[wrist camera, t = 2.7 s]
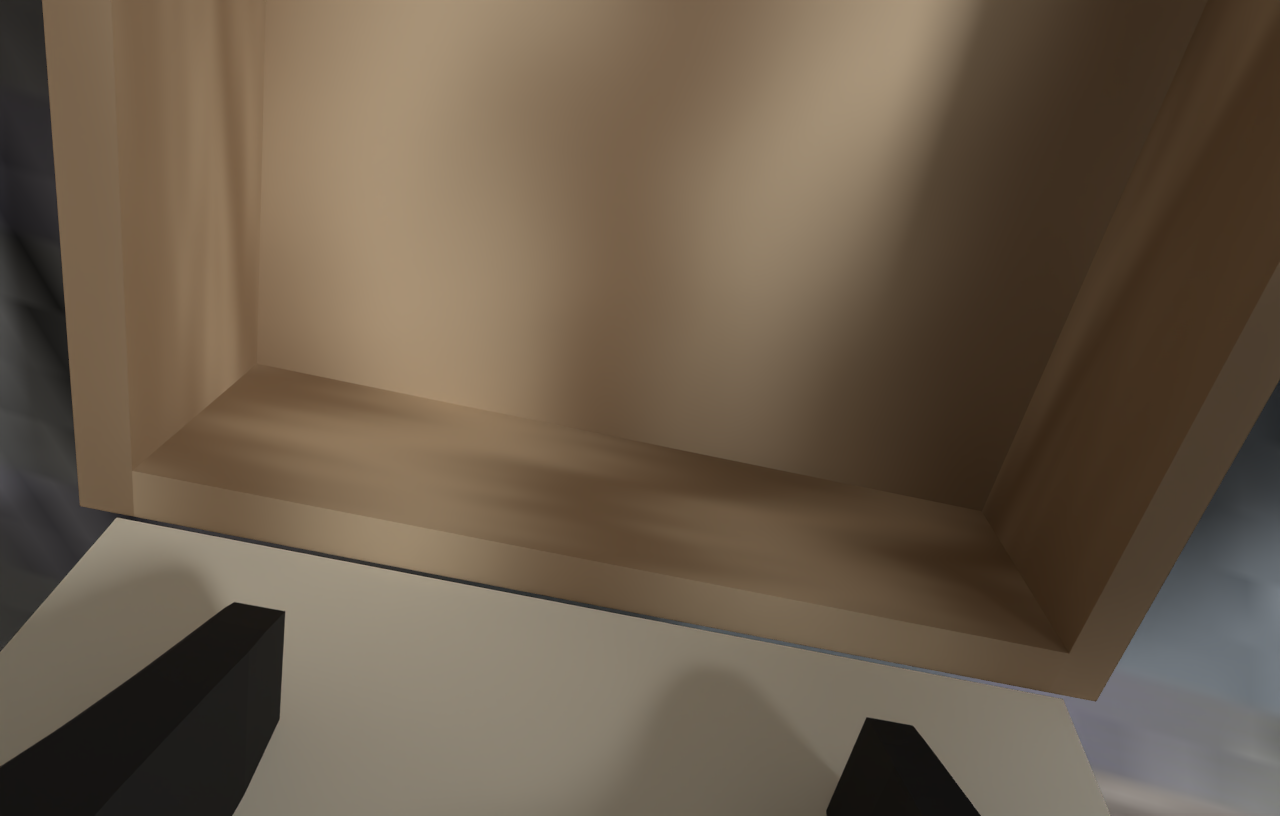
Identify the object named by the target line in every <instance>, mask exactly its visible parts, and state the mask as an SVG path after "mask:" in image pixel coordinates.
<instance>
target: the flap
mask: <svg viewBox="0 0 1280 816" xmlns="http://www.w3.org/2000/svg"><path fill="white" fill-rule="evenodd" d="M233 602H237V603H243V604H248V605H254V606H259V607H265V608H270V609H276V610H281V611H285V629H284V647H283V666H282V684H281V703H280V719H279V722H278V724H277V726H276V728H275V730H274V732H273V734H272V737H271V739H270V741H269V743H268V745H267V747H266V749H265V752H264V754H263V756H262V758H261V760H260V762H259V764H258V767H257V769H256V771H255V773H254V775H253V777H252V779H251V782H250V784H249V786H248V788H247V790H246V792H245V794H244V796H243V798H242V800H241V801H240V803H239V805H238V807H237V808H236V810H235V812H234V814H233V815H232V816H827V814H826V810H827V807H828V805H829V803H830V800H831V798H832V796H833V793H834V791H835V789H836V786H837V784H838V782H839V779H840V777H841V775H842V773H843V770H844V768H845V766H846V763H847V761H848V759H849V756H850V754H851V752H852V749H853V747H854V745H855V743H856V740H857V738H858V736H859V733H860V731H861V729H862V726H863V724H864V722H865V719H866V717H869V718H874V719H880V720H885V721H891V722H896V723H902V724H907V725H913V726H914V727H915V729H916V730H917V731H918V732H919V734H920V735H921V736H922V738H923V739H924V740H925V741H926V743H927V744H928V745H929V747H930V748H931V749H932V751H933V752H934V753H935V755H936V756H937V757H938V759H939V760H940V761H941V763H942V764H943V765H944V767H945V768H946V769H947V771H948V772H949V773H950V775H951V776H952V777H953V779H954V780H955V781H956V783H957V784H958V786H959V787H960V788H961V790H962V791H963V792H964V794H965V795H966V796H967V798H968V799H969V800H970V802H971V803H972V804H973V806H974V807H975V808H976V810H977V811H978V812H979V814H980V815H981V816H1111V815H1110V813H1109V810H1108V808H1107V806H1106V803H1105V801H1104V798H1103V796H1102V793H1101V791H1100V788H1099V786H1098V784H1097V781H1096V779H1095V776H1094V774H1093V771H1092V769H1091V766H1090V764H1089V762H1088V759H1087V757H1086V754H1085V752H1084V749H1083V747H1082V745H1081V742H1080V740H1079V737H1078V735H1077V732H1076V730H1075V727H1074V725H1073V723H1072V720H1071V718H1070V715H1069V713H1068V710H1067V708H1066V705H1065V703H1064V701H1063V699H1059V698H1054V697H1049V696H1044V695H1039V694H1033V693H1028V692H1023V691H1018V690H1013V689H1007V688H1002V687H997V686H992V685H987V684H981V683H976V682H971V681H966V680H961V679H955V678H950V677H945V676H940V675H934V674H929V673H924V672H919V671H914V670H908V669H903V668H898V667H893V666H888V665H882V664H877V663H872V662H867V661H862V660H856V659H851V658H846V657H841V656H836V655H830V654H825V653H820V652H815V651H809V650H804V649H799V648H794V647H789V646H783V645H778V644H773V643H768V642H763V641H757V640H752V639H747V638H742V637H737V636H731V635H726V634H721V633H716V632H710V631H705V630H700V629H695V628H690V627H684V626H679V625H674V624H669V623H664V622H658V621H653V620H648V619H643V618H638V617H632V616H627V615H622V614H617V613H612V612H606V611H601V610H596V609H591V608H585V607H580V606H575V605H570V604H565V603H559V602H554V601H549V600H544V599H539V598H533V597H528V596H523V595H518V594H513V593H507V592H502V591H497V590H492V589H487V588H481V587H476V586H471V585H466V584H460V583H455V582H450V581H445V580H440V579H434V578H429V577H424V576H419V575H414V574H408V573H403V572H398V571H393V570H388V569H382V568H377V567H372V566H367V565H362V564H356V563H351V562H346V561H341V560H335V559H330V558H325V557H320V556H315V555H309V554H304V553H299V552H294V551H289V550H283V549H278V548H273V547H268V546H263V545H257V544H252V543H247V542H242V541H236V540H231V539H226V538H221V537H216V536H210V535H205V534H200V533H195V532H190V531H184V530H179V529H174V528H169V527H164V526H158V525H153V524H148V523H143V522H138V521H132V520H127V519H122V518H116V519H115V520H114V521H113V522H112V523H111V525H110V526H109V527H108V528H107V529H106V530H105V532H104V533H103V534H102V535H101V536H100V537H99V538H98V540H97V541H96V542H95V543H94V544H93V545H92V547H91V548H90V549H89V550H88V551H87V552H86V553H85V555H84V556H83V557H82V558H81V559H80V560H79V562H78V563H77V564H76V565H75V566H74V567H73V568H72V570H71V571H70V572H69V573H68V574H67V575H66V577H65V578H64V579H63V580H62V581H61V582H60V583H59V585H58V586H57V587H56V588H55V589H54V590H53V592H52V593H51V594H50V595H49V596H48V597H47V599H46V600H45V601H44V602H43V603H42V604H41V605H40V607H39V608H38V609H37V610H36V611H35V612H34V614H33V615H32V616H31V617H30V618H29V619H28V620H27V622H26V623H25V624H24V625H23V626H22V627H21V629H20V630H19V631H18V632H17V633H16V634H15V635H14V637H13V638H12V639H11V640H10V641H9V642H8V644H7V645H6V646H5V647H4V648H3V649H2V650H1V652H0V766H2V765H3V764H5V763H6V762H8V761H9V760H11V759H12V758H14V757H16V756H17V755H19V754H20V753H22V752H23V751H25V750H26V749H28V748H29V747H31V746H33V745H34V744H36V743H37V742H39V741H40V740H42V739H43V738H45V737H46V736H48V735H49V734H51V733H53V732H54V731H56V730H57V729H58V728H60V727H61V726H63V725H64V724H66V723H67V722H69V721H70V720H72V719H73V718H75V717H76V716H77V715H79V714H80V713H82V712H83V711H84V710H86V709H87V708H89V707H90V706H92V705H93V704H94V703H96V702H97V701H99V700H100V699H101V698H103V697H104V696H106V695H107V694H109V693H110V692H111V691H113V690H114V689H116V688H117V687H118V686H120V685H121V684H123V683H124V682H126V681H127V680H128V679H130V678H131V677H133V676H134V675H135V674H137V673H138V672H139V671H141V670H142V669H143V668H145V667H146V666H147V665H149V664H150V663H152V662H153V661H154V660H156V659H157V658H158V657H160V656H161V655H162V654H164V653H165V652H166V651H168V650H169V649H170V648H172V647H173V646H174V645H176V644H177V643H178V642H180V641H181V640H182V639H184V638H185V637H186V636H188V635H189V634H190V633H192V632H193V631H194V630H196V629H197V628H198V627H200V626H201V625H202V624H204V623H205V622H206V621H207V620H209V619H210V618H211V617H213V616H214V615H216V614H217V613H218V612H220V611H221V610H222V609H224V608H225V607H227V606H228V605H230V604H232V603H233Z"/></svg>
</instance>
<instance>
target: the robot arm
mask: <svg viewBox="0 0 1280 816" xmlns="http://www.w3.org/2000/svg"><path fill="white" fill-rule="evenodd" d="M284 629H285V611H281V610H276V609H270V608H265V607H259V606H254V605H248V604H243V603H237V602H233V603H232V604H230V605H228V606H227V607H225V608H224V609H222V610H221V611H220V612H218V613H217V614H216V615H214V616H213V617H211V618H210V619H209V620H207V621H206V622H205V623H204V624H202V625H201V626H200V627H198V628H197V629H196V630H194V631H193V632H192V633H190V634H189V635H188V636H186V637H185V638H184V639H182V640H181V641H180V642H178V643H177V644H176V645H174V646H173V647H172V648H170V649H169V650H168V651H166V652H165V653H164V654H162V655H161V656H160V657H158V658H157V659H156V660H154V661H153V662H152V663H150V664H149V665H147V666H146V667H145V668H143V669H142V670H141V671H139V672H138V673H137V674H135V675H134V676H133V677H131V678H130V679H128V680H127V681H126V682H124V683H123V684H121V685H120V686H118V687H117V688H116V689H114V690H113V691H111V692H110V693H109V694H107V695H106V696H104V697H103V698H101V699H100V700H99V701H97V702H96V703H94V704H93V705H92V706H90V707H89V708H87V709H86V710H84V711H83V712H82V713H80V714H79V715H77V716H76V717H75V718H73V719H72V720H70V721H69V722H67V723H66V724H64V725H63V726H61V727H60V728H58V729H57V730H56V731H54V732H53V733H51V734H49V735H48V736H46V737H45V738H43V739H42V740H40V741H39V742H37V743H36V744H34V745H33V746H31V747H29V748H28V749H26V750H25V751H23V752H22V753H20V754H19V755H17V756H16V757H14V758H12V759H11V760H9V761H8V762H6V763H5V764H3V765H2V766H0V816H232V815H233V814H234V812H235V810H236V808H237V807H238V805H239V803H240V801H241V800H242V798H243V796H244V794H245V792H246V790H247V788H248V786H249V784H250V782H251V779H252V777H253V775H254V773H255V771H256V769H257V767H258V764H259V762H260V760H261V758H262V756H263V754H264V752H265V749H266V747H267V745H268V743H269V741H270V739H271V737H272V734H273V732H274V730H275V728H276V726H277V724H278V722H279V719H280V703H281V684H282V666H283V647H284ZM826 814H827V816H981V815H980V814H979V812H978V811H977V810H976V808H975V807H974V806H973V804H972V803H971V802H970V800H969V799H968V798H967V796H966V795H965V794H964V792H963V791H962V790H961V788H960V787H959V786H958V784H957V783H956V781H955V780H954V779H953V777H952V776H951V775H950V773H949V772H948V771H947V769H946V768H945V767H944V765H943V764H942V763H941V761H940V760H939V759H938V757H937V756H936V755H935V753H934V752H933V751H932V749H931V748H930V747H929V745H928V744H927V743H926V741H925V740H924V739H923V738H922V736H921V735H920V734H919V732H918V731H917V730H916V729H915V727H914V726H913V725H907V724H902V723H896V722H891V721H885V720H880V719H874V718H869V717H866V719H865V722H864V724H863V726H862V729H861V731H860V733H859V736H858V738H857V740H856V743H855V745H854V747H853V749H852V752H851V754H850V756H849V759H848V761H847V763H846V766H845V768H844V770H843V773H842V775H841V777H840V779H839V782H838V784H837V786H836V789H835V791H834V793H833V796H832V798H831V800H830V803H829V805H828V807H827V810H826Z"/></svg>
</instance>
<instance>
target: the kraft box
mask: <svg viewBox="0 0 1280 816" xmlns="http://www.w3.org/2000/svg"><path fill="white" fill-rule="evenodd" d="M42 6H43V19H44V33H45V46H46V60H47V73H48V86H49V100H50V113H51V126H52V140H53V153H54V167H55V180H56V193H57V207H58V220H59V233H60V247H61V260H62V273H63V287H64V300H65V314H66V327H67V340H68V354H69V367H70V380H71V394H72V407H73V421H74V434H75V447H76V461H77V474H78V487H79V501H80V506H82V507H87V508H92V509H97V510H103V511H108V512H113V513H118V514H123V515H129V516H134V517H139V518H144V519H150V520H155V521H160V522H165V523H170V524H176V525H181V526H186V527H191V528H196V529H202V530H207V531H212V532H217V533H222V534H228V535H233V536H238V537H243V538H248V539H254V540H259V541H264V542H269V543H274V544H280V545H285V546H290V547H295V548H300V549H306V550H311V551H316V552H321V553H326V554H332V555H337V556H342V557H347V558H352V559H358V560H363V561H368V562H373V563H378V564H384V565H389V566H394V567H399V568H404V569H410V570H415V571H420V572H425V573H430V574H436V575H441V576H446V577H451V578H456V579H462V580H467V581H472V582H477V583H482V584H488V585H493V586H498V587H503V588H508V589H514V590H519V591H524V592H529V593H534V594H540V595H545V596H550V597H555V598H560V599H566V600H571V601H576V602H581V603H586V604H592V605H597V606H602V607H607V608H612V609H618V610H623V611H628V612H633V613H638V614H644V615H649V616H654V617H659V618H664V619H670V620H675V621H680V622H685V623H690V624H696V625H701V626H706V627H711V628H716V629H722V630H727V631H732V632H737V633H742V634H748V635H753V636H758V637H763V638H768V639H774V640H779V641H784V642H789V643H794V644H800V645H805V646H810V647H815V648H820V649H826V650H831V651H836V652H841V653H846V654H852V655H857V656H862V657H867V658H872V659H878V660H883V661H888V662H893V663H898V664H904V665H909V666H914V667H919V668H925V669H930V670H935V671H940V672H945V673H951V674H956V675H961V676H966V677H971V678H977V679H982V680H987V681H992V682H997V683H1003V684H1008V685H1013V686H1018V687H1023V688H1029V689H1034V690H1039V691H1044V692H1049V693H1055V694H1060V695H1065V696H1070V697H1075V698H1081V699H1086V700H1091V701H1097V699H1098V697H1099V696H1100V694H1101V692H1102V690H1103V689H1104V687H1105V685H1106V683H1107V682H1108V680H1109V678H1110V676H1111V675H1112V673H1113V671H1114V669H1115V667H1116V666H1117V664H1118V662H1119V660H1120V659H1121V657H1122V655H1123V653H1124V652H1125V650H1126V648H1127V646H1128V645H1129V643H1130V641H1131V639H1132V638H1133V636H1134V634H1135V632H1136V631H1137V629H1138V627H1139V625H1140V624H1141V622H1142V620H1143V618H1144V617H1145V615H1146V613H1147V611H1148V610H1149V608H1150V606H1151V604H1152V603H1153V601H1154V599H1155V597H1156V596H1157V594H1158V592H1159V590H1160V589H1161V587H1162V585H1163V583H1164V582H1165V580H1166V578H1167V576H1168V575H1169V573H1170V571H1171V569H1172V568H1173V566H1174V564H1175V562H1176V561H1177V559H1178V557H1179V555H1180V554H1181V552H1182V550H1183V548H1184V547H1185V545H1186V543H1187V541H1188V540H1189V538H1190V536H1191V534H1192V533H1193V531H1194V529H1195V527H1196V526H1197V524H1198V522H1199V520H1200V519H1201V517H1202V515H1203V513H1204V511H1205V510H1206V508H1207V506H1208V504H1209V503H1210V501H1211V499H1212V497H1213V496H1214V494H1215V492H1216V490H1217V489H1218V487H1219V485H1220V483H1221V482H1222V480H1223V478H1224V476H1225V475H1226V473H1227V471H1228V469H1229V468H1230V466H1231V464H1232V462H1233V461H1234V459H1235V457H1236V455H1237V454H1238V452H1239V450H1240V448H1241V447H1242V445H1243V443H1244V441H1245V440H1246V438H1247V436H1248V434H1249V433H1250V431H1251V429H1252V427H1253V426H1254V424H1255V422H1256V420H1257V419H1258V417H1259V415H1260V413H1261V412H1262V410H1263V408H1264V406H1265V405H1266V403H1267V401H1268V399H1269V398H1270V396H1271V394H1272V392H1273V391H1274V389H1275V387H1276V385H1277V384H1278V382H1279V380H1280V0H42Z"/></svg>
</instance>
